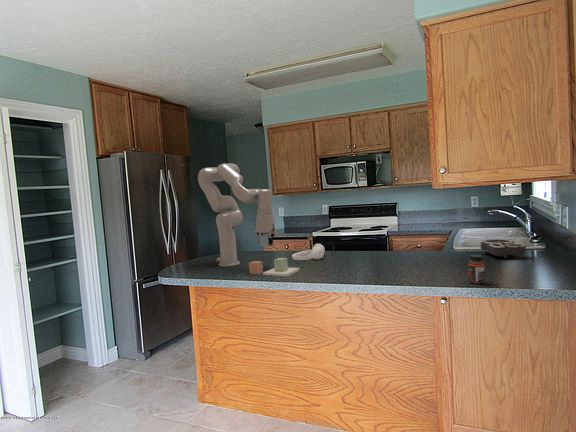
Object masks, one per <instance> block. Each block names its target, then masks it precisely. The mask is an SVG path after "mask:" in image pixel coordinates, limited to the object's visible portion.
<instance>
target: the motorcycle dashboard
mask: <svg viewBox="0 0 576 432" xmlns="http://www.w3.org/2000/svg"><path fill="white" fill-rule="evenodd" d="M526 249H527V245H525V244H524V243H515V242H514V241H513V240H511V239H505V238H490V239H485V240H483V241H482V242H480V250H482V251H487V253H489V254H490V255H493V256H495V257H502V258H503V259H504V260H505V261H507V258H508V257H509V256H513V257H514V256H517V257H519V256H523V255H524V254H526V253H527V250H526Z"/></svg>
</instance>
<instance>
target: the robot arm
mask: <svg viewBox="0 0 576 432" xmlns="http://www.w3.org/2000/svg"><path fill="white" fill-rule="evenodd" d="M197 181H198V184H199V187H200V188H201V190H202V191H203V194H205V197H206V199H207V202H208V203H209V205H210V207H211V209H212V210H213V212H216V213H218V214H217V215H216V218H215V224H216V227H217V231H218V240H219V241H218V242H219V253H220V254H219V255H220V257H219V256H218V257H217V258H216V261H217V262H219V263H218V266H219V267H223V268H225V267H235V266H238V265H240V264H241V262H240V260H238V252H237V241H236V234H235V230H234V228H233V227H238V226H241V225H242V224H243V222H244V216H243V213H242V211H241V209H240V208H239V205H238V204H237V201H236V200H235V198H234V197H233V196H231V195H227V194H226V195H225V194H224V195H223V194H222V193H221V192H220V189H219V188H218V186H216V184H214V182H223V181H225V183H227V185H229V186H230V187H231V191H232V194H233V195H234V196H235V197H236V198H237V199H238V200H239V201H241V202H242V203H244V204H252V203H253V204H254V203H257V209H256V213H257V214H256V220H255V229H254V230H253V232H254V233H255V234H256V235H257V236H258V238H259V239H260V235H264V234H269V245H272V246H273V245H274V244H273V243H274V237H275V236H276V235H277V234H278V233H279V231H278V229H277V228H276V223H275V218H274V217H275V216H274V214H273V205H272V190H271V189H269V188H267V189H266V188H264V189H263V188H249V189H247V188H245V187H244V186H243V185H242V184H243V181H244V177H243V176H242V175H241V174H240V168H239V165H237V164H235V163H221V164H219V165H218V166H217V167H216V166H215V167H204V168H201V169H200V170H199V172H198V175H197Z"/></svg>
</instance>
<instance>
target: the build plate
mask: <svg viewBox="0 0 576 432" xmlns="http://www.w3.org/2000/svg"><path fill="white" fill-rule="evenodd" d="M273 262H274V263H273V264H274V265H273V266H274V267H273V268H271V269H269V270H266V271H263V273H262V275H263V276H271V275H272V277H273V276H276V277H289V276H291V275H292V274H295V273H297V272H299V271H301V270H300V267H289V266H288V257H278V258H274V260H273Z"/></svg>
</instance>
